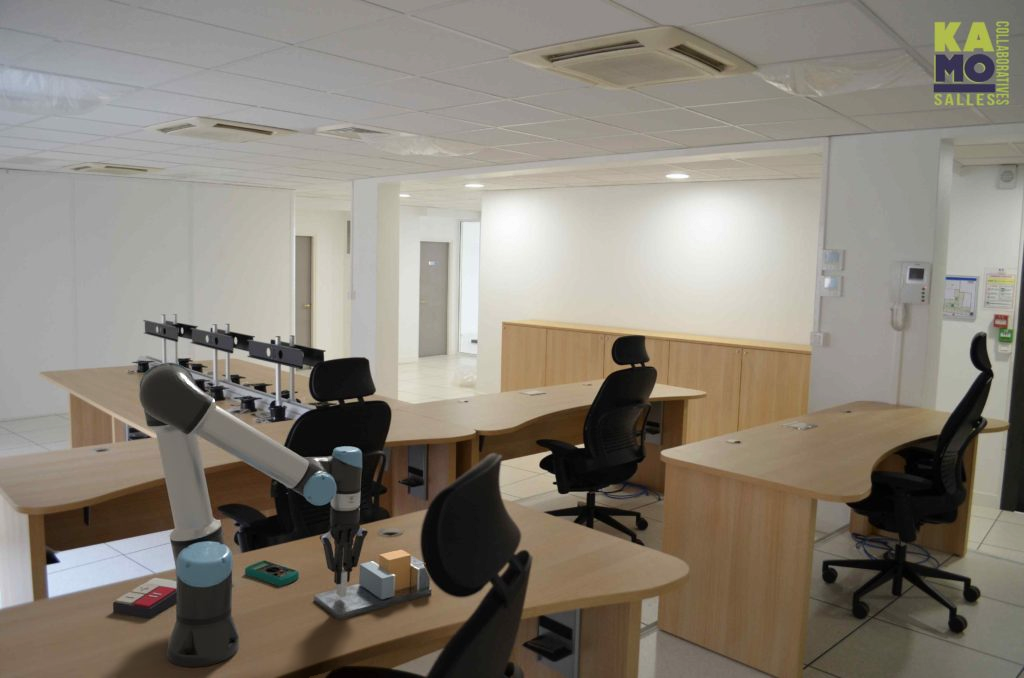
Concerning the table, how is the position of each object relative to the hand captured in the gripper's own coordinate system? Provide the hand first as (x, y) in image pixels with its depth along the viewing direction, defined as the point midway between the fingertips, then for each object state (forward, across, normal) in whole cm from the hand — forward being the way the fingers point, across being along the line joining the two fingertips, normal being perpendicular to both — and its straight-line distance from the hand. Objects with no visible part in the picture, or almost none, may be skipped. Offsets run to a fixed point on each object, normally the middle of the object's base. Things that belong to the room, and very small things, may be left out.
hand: (341, 594), depth 198 cm
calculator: (+4, -39, +28) cm, 48 cm away
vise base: (+3, +10, 0) cm, 10 cm away
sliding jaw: (+1, +10, 0) cm, 11 cm away
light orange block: (+1, +16, 0) cm, 16 cm away
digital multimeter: (+4, -7, +28) cm, 29 cm away
